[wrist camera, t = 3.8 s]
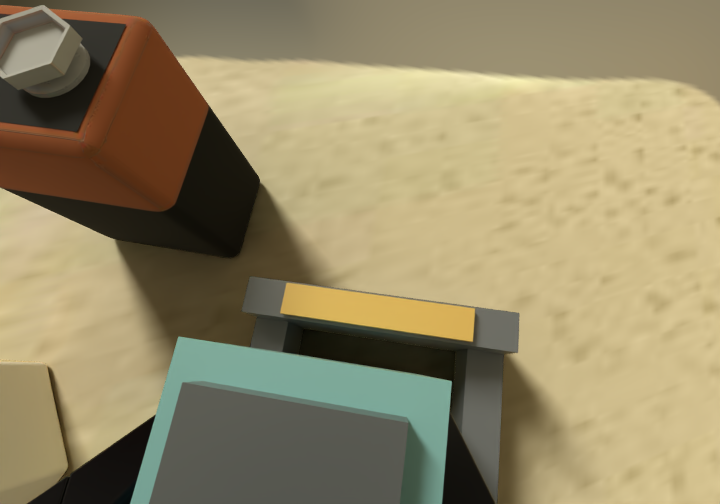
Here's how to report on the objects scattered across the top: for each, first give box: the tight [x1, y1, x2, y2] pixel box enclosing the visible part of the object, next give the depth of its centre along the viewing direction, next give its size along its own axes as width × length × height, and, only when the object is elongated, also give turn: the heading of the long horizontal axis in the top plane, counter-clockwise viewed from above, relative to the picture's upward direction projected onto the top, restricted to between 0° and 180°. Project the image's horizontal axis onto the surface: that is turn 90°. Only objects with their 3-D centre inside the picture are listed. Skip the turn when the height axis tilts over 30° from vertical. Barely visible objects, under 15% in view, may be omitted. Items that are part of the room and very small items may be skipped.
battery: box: [0, 5, 260, 258], centre depth 13 cm, size 4×7×10 cm, turn 79°
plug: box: [130, 336, 452, 504], centre depth 10 cm, size 4×4×11 cm
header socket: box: [241, 276, 519, 504], centre depth 13 cm, size 9×9×4 cm
